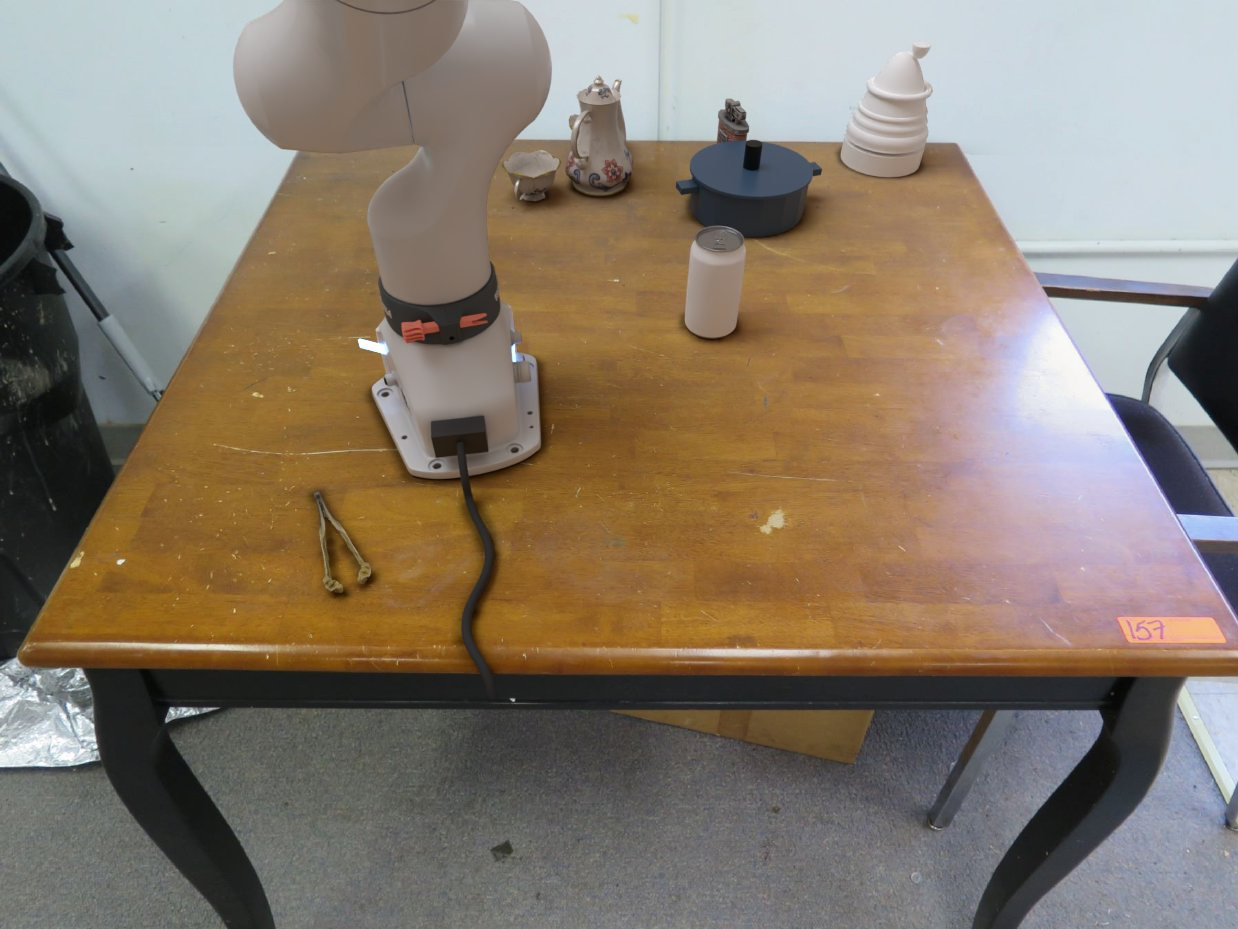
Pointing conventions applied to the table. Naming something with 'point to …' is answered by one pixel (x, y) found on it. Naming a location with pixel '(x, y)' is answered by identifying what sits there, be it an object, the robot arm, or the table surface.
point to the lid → (751, 170)
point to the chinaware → (581, 150)
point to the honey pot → (890, 119)
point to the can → (714, 281)
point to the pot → (745, 209)
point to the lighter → (732, 122)
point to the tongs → (328, 582)
